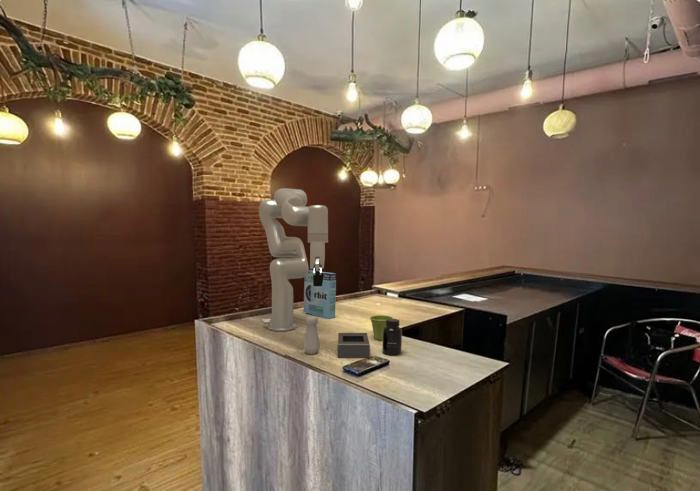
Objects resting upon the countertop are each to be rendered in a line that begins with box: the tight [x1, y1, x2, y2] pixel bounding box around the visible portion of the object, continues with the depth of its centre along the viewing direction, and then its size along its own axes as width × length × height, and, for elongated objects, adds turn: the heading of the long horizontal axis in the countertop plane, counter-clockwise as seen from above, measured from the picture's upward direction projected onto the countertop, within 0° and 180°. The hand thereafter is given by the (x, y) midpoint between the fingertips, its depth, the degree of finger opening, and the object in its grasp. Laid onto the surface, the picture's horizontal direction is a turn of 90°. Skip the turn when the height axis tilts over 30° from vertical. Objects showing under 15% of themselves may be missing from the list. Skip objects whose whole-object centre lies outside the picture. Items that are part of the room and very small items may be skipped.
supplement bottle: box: [382, 318, 403, 357], centre depth 132 cm, size 7×7×12 cm
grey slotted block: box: [337, 332, 371, 359], centre depth 133 cm, size 11×15×5 cm
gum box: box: [303, 269, 337, 320], centre depth 191 cm, size 20×5×23 cm, turn 48°
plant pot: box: [369, 314, 394, 341], centre depth 150 cm, size 9×9×9 cm
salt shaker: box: [303, 315, 321, 355], centre depth 131 cm, size 6×6×13 cm
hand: (318, 284), depth 136 cm, fingers open, 9 cm apart
